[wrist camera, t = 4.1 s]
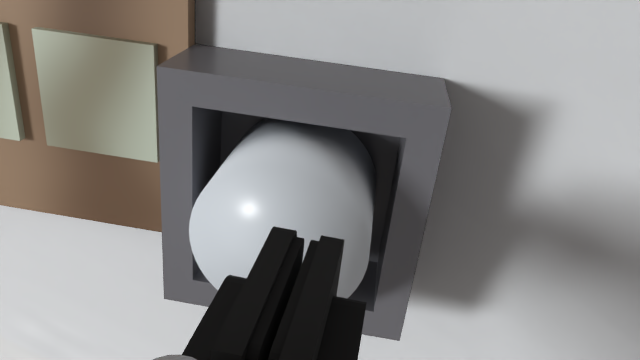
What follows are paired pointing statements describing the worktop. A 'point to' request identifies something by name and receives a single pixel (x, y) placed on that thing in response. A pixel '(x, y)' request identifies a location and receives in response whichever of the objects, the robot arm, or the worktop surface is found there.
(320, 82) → the housing
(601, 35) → the worktop surface
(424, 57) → the worktop surface
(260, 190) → the dome
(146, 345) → the worktop surface
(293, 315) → the robot arm
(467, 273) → the worktop surface
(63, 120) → the board
